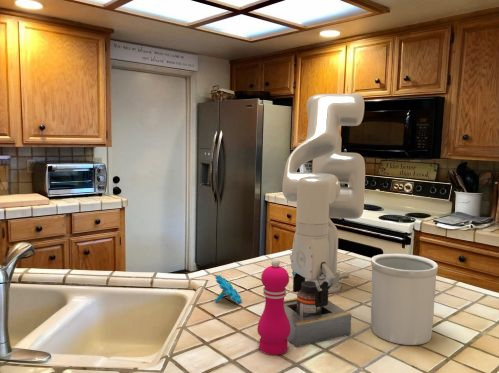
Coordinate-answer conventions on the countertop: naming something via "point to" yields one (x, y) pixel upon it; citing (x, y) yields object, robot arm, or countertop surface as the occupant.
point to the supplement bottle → (307, 300)
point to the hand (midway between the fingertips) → (309, 298)
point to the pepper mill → (274, 311)
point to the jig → (316, 324)
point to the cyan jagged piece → (227, 290)
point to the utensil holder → (403, 298)
